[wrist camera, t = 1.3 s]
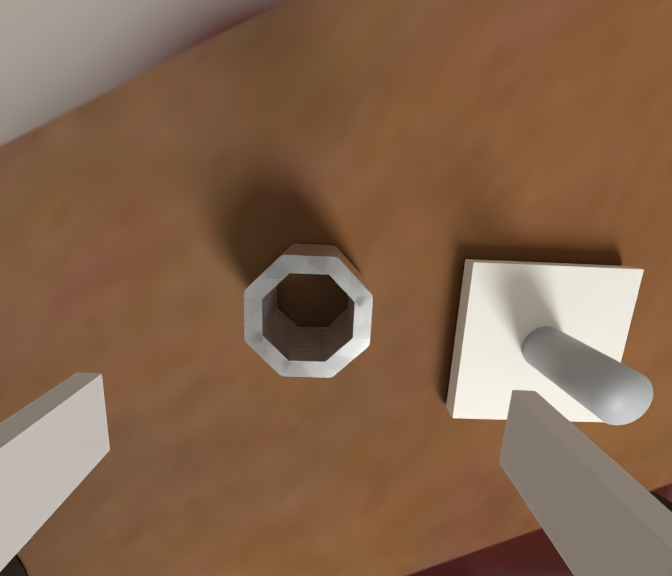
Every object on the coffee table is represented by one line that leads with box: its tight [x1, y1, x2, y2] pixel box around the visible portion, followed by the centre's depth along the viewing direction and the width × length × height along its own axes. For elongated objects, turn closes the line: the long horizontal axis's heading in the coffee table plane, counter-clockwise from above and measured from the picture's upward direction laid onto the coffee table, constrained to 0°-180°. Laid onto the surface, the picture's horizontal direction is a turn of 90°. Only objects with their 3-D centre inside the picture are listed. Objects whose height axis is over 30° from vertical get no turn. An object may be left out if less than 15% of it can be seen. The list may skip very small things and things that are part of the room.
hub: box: [244, 244, 373, 378], centre depth 23 cm, size 7×7×6 cm
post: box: [446, 259, 653, 425], centre depth 23 cm, size 12×12×8 cm
